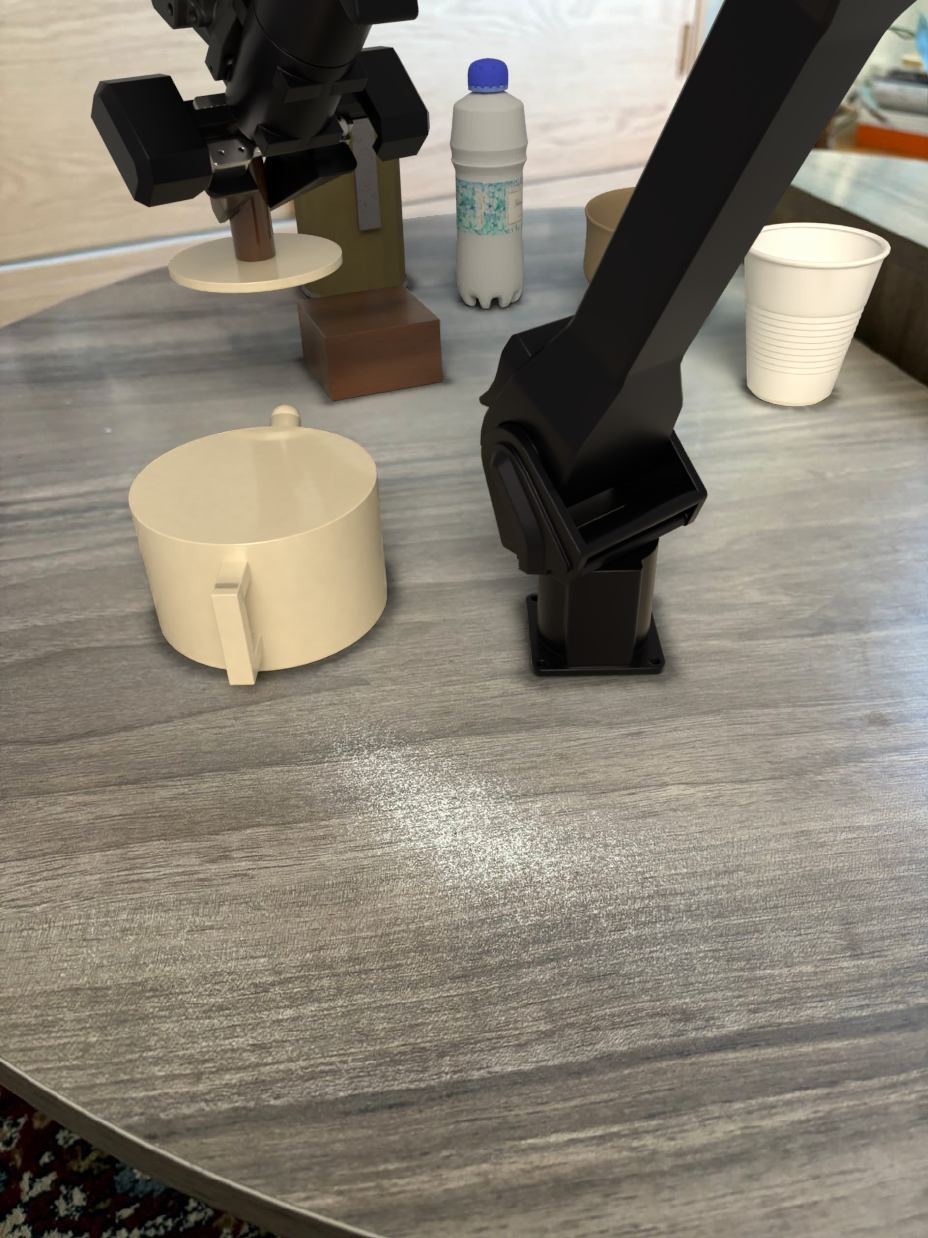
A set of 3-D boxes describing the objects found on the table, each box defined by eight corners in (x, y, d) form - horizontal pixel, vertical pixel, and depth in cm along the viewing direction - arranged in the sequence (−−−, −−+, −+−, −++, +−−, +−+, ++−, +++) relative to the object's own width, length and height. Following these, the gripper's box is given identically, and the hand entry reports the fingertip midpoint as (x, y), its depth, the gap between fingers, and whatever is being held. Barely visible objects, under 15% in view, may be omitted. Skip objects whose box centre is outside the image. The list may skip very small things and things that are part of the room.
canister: (288, 279, 100) (259, 51, 88) (385, 264, 103) (370, 42, 91) (323, 312, 92) (296, 66, 80) (426, 294, 95) (416, 55, 83)
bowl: (612, 359, 81) (620, 232, 75) (558, 308, 91) (562, 192, 85) (751, 340, 84) (770, 216, 78) (685, 293, 94) (697, 179, 88)
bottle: (520, 314, 90) (522, 63, 78) (447, 311, 91) (438, 63, 79) (531, 290, 95) (534, 51, 83) (462, 287, 96) (456, 51, 84)
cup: (704, 404, 74) (723, 252, 67) (740, 358, 81) (761, 216, 74) (842, 429, 70) (877, 270, 63) (868, 378, 77) (901, 230, 70)
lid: (359, 279, 61) (349, 163, 57) (177, 302, 58) (153, 182, 55) (324, 234, 70) (313, 130, 66) (164, 253, 67) (142, 146, 63)
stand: (442, 381, 78) (440, 319, 75) (331, 401, 76) (324, 337, 73) (406, 343, 85) (402, 284, 82) (303, 360, 83) (296, 300, 80)
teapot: (376, 705, 47) (362, 574, 43) (117, 710, 48) (77, 580, 43) (397, 499, 63) (389, 389, 59) (203, 504, 63) (180, 393, 59)
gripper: (387, -124, 54) (307, 84, 68) (52, -116, 45) (36, 122, 59) (482, 51, 54) (382, 225, 68) (163, 95, 45) (121, 286, 58)
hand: (239, 211), depth 63 cm, fingers closed on lid, 3 cm apart
